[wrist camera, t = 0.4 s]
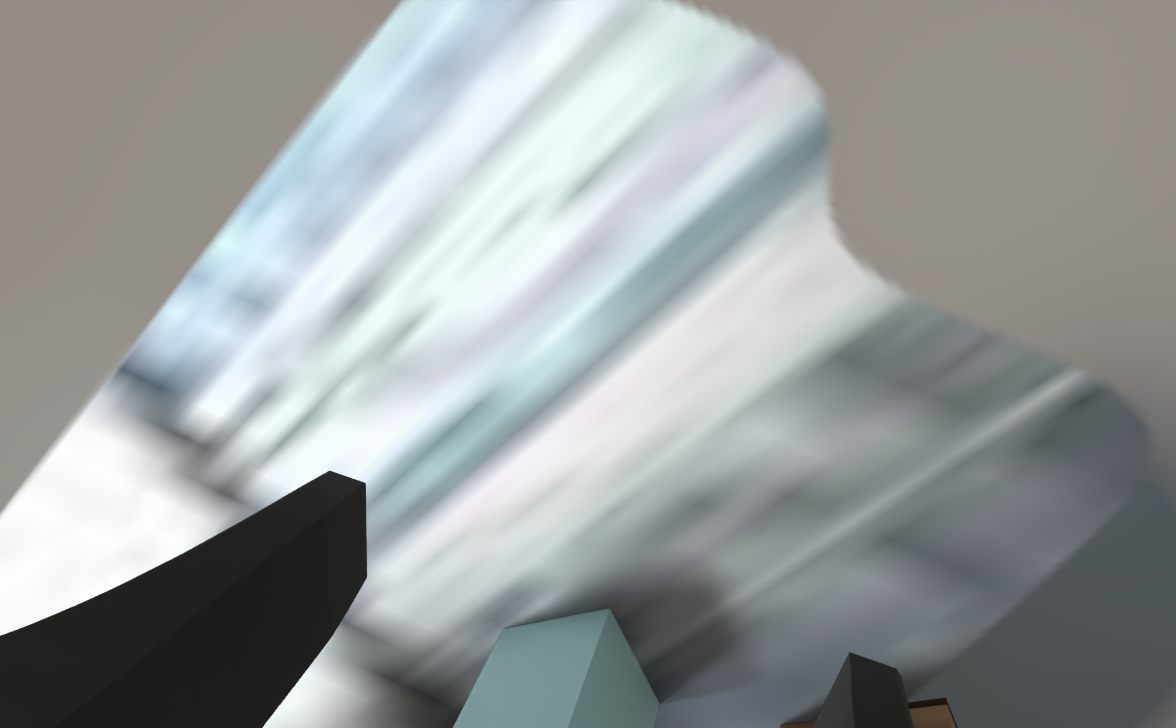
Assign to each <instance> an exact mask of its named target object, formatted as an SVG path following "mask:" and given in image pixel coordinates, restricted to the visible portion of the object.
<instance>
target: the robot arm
mask: <svg viewBox="0 0 1176 728" xmlns="http://www.w3.org/2000/svg"><path fill="white" fill-rule="evenodd" d="M366 578H367V541H366V483H364V482H361V481H358V480H355V479H352V478H349V477H346V476H344V475H341V474H338V473H335V472H332V471H328V472H326V473H325V474H323V475H321V476H319V477H317V478H316V479H314V480H312V481H310V482H308V483H307V484H305V485H303V486H301V487H300V488H298V489H296V490H295V491H293V492H291V493H289V494H288V495H286V496H284V497H282V498H281V499H279V500H277V501H276V502H274V503H272V504H270V505H269V506H267V507H265V508H263V509H262V510H260V511H258V512H257V513H255V514H253V515H251V516H250V517H248V518H246V519H244V520H243V521H241V522H239V523H237V524H236V525H234V526H232V527H230V528H228V529H227V530H225V531H223V532H221V533H219V534H217V535H216V536H214V537H212V538H210V539H208V540H207V541H205V542H203V543H201V544H199V545H198V546H196V547H194V548H192V549H190V550H188V551H187V552H185V553H183V554H181V555H179V556H177V557H175V558H173V559H171V560H169V561H167V562H165V563H163V564H161V565H159V566H157V567H155V568H153V569H151V570H149V571H147V572H145V573H143V574H141V575H139V576H137V577H135V578H133V579H131V580H129V581H127V582H125V583H123V584H121V585H119V586H117V587H115V588H113V589H111V590H109V591H107V592H104V593H102V594H100V595H98V596H96V597H94V598H91V599H89V600H87V601H85V602H83V603H80V604H78V605H76V606H74V607H71V608H69V609H66V610H64V611H62V612H59V613H57V614H55V615H52V616H50V617H47V618H45V619H43V620H40V621H38V622H36V623H33V624H30V625H28V626H25V627H23V628H20V629H18V630H15V631H12V632H10V633H7V634H4V635H1V636H0V728H262V727H263V726H264V725H265V723H266V722H267V721H268V719H269V718H270V717H271V716H272V714H273V713H274V712H275V710H276V709H277V708H278V706H279V705H280V704H281V703H282V701H283V700H284V699H285V697H286V696H287V695H288V694H289V692H290V691H291V690H292V688H293V687H294V686H295V685H296V683H297V682H298V681H299V679H300V678H301V677H302V675H303V674H304V673H305V671H306V670H307V669H308V668H309V666H310V665H311V664H312V662H313V661H314V660H315V658H316V657H317V656H318V654H319V653H320V652H321V650H322V649H323V648H324V646H325V645H326V644H327V642H328V641H329V640H330V638H331V637H332V636H333V634H334V632H335V631H336V629H337V627H338V626H339V624H340V622H341V621H342V619H343V618H344V616H345V614H346V613H347V611H348V609H349V608H350V606H351V604H352V602H353V601H354V599H355V597H356V595H357V594H358V592H359V590H360V589H361V587H362V585H363V583H364V582H365V580H366ZM812 728H914V725H913V722H912V718H911V714H910V710H909V707H908V703H907V699H906V695H905V691H904V686H903V682H902V678H901V676H900V674H899V672H898V671H897V669H896V668H893V667H890V666H887V665H884V664H881V663H879V662H876V661H873V660H870V659H867V658H864V657H861V656H859V655H856V654H853V653H849V655H848V657H847V659H846V661H845V663H844V665H843V667H842V669H841V671H840V673H839V675H838V677H837V679H836V681H835V683H834V685H833V687H832V689H831V691H830V693H829V695H828V697H827V699H826V701H825V703H824V705H823V707H822V709H821V711H820V713H819V715H818V717H817V719H816V721H815V723H814V725H813V727H812Z"/></svg>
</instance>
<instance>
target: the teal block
mask: <svg viewBox="0 0 1176 728" xmlns="http://www.w3.org/2000/svg"><path fill="white" fill-rule="evenodd" d="M659 706H660V704H659V702H658V700H657V698H656V696H655V694H654V692H653V690H652V688H651V686H650V684H649V682H648V681H647V679H646V677H645V675H644V673H643V671H642V669H641V667H640V665H639V663H638V661H637V659H636V657H635V656H634V654H633V652H632V650H631V648H630V646H629V644H628V642H627V640H626V638H625V636H624V634H623V633H622V631H621V629H620V627H619V625H618V623H617V621H616V619H615V617H614V615H613V613H612V611H611V610H610V608H608V609H603V610H598V611H593V612H587V613H582V614H577V615H572V616H567V617H562V618H557V619H552V620H546V621H541V622H536V623H531V624H526V625H521V626H516V627H511V628H505V629H503V630H502V632H501V634H500V636H499V638H498V640H497V642H496V644H495V646H494V648H493V650H492V652H491V653H490V655H489V657H488V659H487V661H486V663H485V665H484V667H483V669H482V671H481V673H480V675H479V677H478V679H477V681H476V683H475V685H474V687H473V689H472V691H471V693H470V695H469V697H468V699H467V701H466V703H465V705H464V707H463V709H462V711H461V713H460V715H459V717H458V719H457V721H456V723H455V725H454V727H453V728H654V727H655V723H656V718H657V714H658V710H659Z"/></svg>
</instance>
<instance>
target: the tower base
mask: <svg viewBox="0 0 1176 728" xmlns="http://www.w3.org/2000/svg"><path fill="white" fill-rule="evenodd" d="M907 703H908V707H909V710H910V714H911V718H912V722H913V725H914V728H958V727H957V724H956V722H955V719H954V717H953V714H952V712H951V709H950V707H949V704H948V702H947V699H946V698H938V699H930V700H923V701H915V702H907ZM814 723H815V721H809V722H801V723H793V724H785V725H781V726H780V728H812V727H813V725H814Z"/></svg>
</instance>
